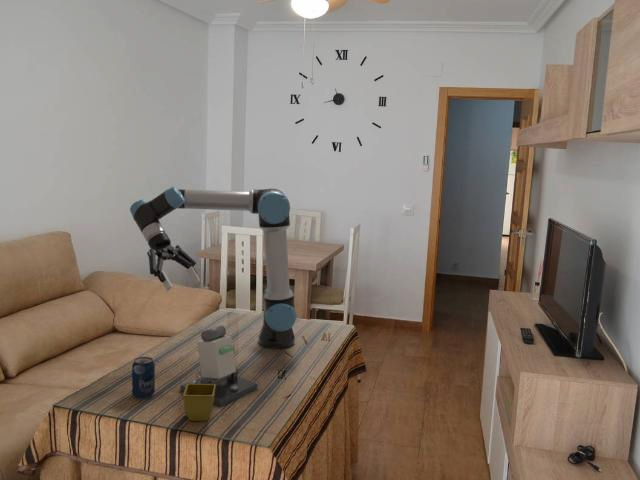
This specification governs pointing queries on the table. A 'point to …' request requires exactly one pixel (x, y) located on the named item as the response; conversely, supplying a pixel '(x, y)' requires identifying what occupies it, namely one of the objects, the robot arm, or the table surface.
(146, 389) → the soda can
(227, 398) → the levelling base
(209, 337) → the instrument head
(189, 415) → the flower pot
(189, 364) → the table surface
